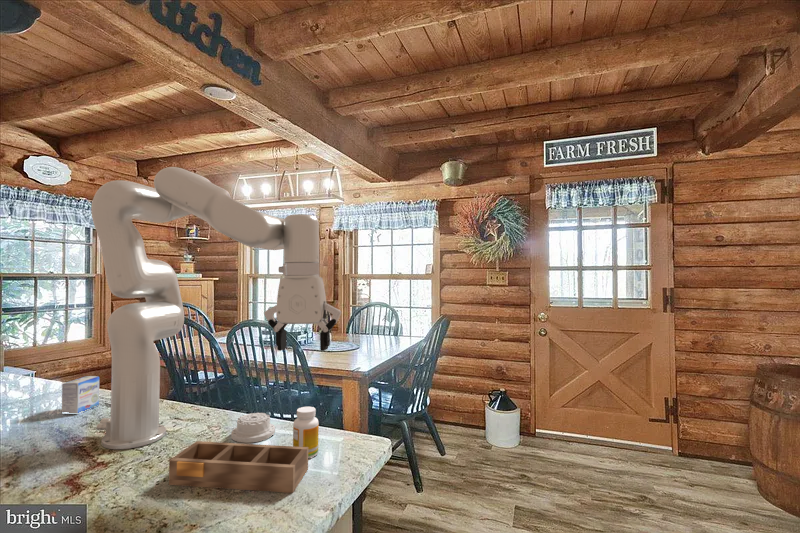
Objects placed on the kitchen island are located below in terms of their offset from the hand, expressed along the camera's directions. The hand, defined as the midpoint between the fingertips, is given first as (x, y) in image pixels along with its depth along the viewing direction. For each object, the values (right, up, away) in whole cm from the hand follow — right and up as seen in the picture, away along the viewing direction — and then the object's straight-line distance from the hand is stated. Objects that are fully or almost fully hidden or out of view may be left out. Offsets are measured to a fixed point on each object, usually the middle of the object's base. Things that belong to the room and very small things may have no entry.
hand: (303, 349), depth 88 cm
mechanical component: (-14, -23, +9) cm, 29 cm away
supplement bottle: (+1, -23, -1) cm, 23 cm away
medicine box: (-68, -22, +25) cm, 76 cm away
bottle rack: (-9, -22, -11) cm, 26 cm away
